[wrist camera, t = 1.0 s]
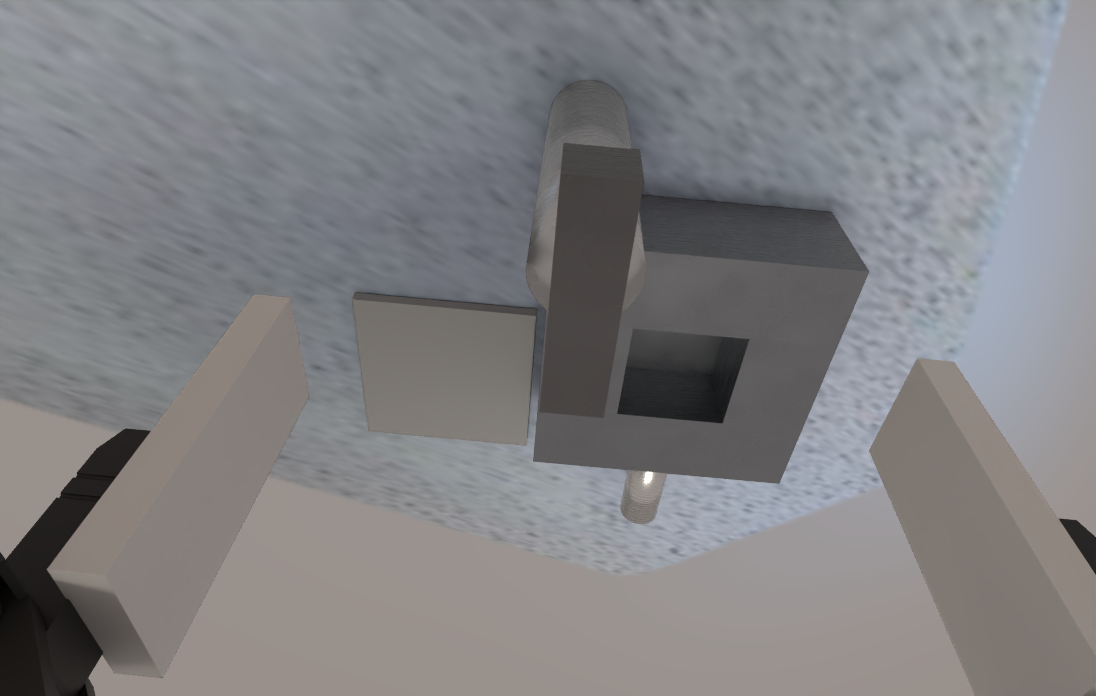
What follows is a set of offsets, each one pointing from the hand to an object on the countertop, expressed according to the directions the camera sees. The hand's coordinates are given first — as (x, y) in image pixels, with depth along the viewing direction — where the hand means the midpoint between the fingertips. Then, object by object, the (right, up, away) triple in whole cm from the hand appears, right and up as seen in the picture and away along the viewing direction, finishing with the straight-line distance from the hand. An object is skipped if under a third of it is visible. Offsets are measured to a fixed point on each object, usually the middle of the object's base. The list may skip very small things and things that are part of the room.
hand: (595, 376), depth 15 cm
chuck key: (+1, +10, +13) cm, 16 cm away
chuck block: (+5, 0, +20) cm, 20 cm away
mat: (-6, -1, +21) cm, 22 cm away
